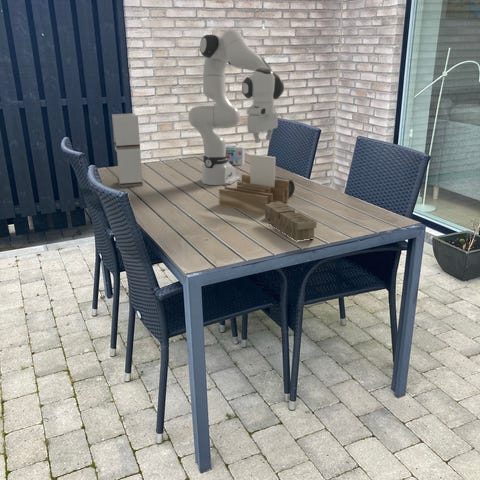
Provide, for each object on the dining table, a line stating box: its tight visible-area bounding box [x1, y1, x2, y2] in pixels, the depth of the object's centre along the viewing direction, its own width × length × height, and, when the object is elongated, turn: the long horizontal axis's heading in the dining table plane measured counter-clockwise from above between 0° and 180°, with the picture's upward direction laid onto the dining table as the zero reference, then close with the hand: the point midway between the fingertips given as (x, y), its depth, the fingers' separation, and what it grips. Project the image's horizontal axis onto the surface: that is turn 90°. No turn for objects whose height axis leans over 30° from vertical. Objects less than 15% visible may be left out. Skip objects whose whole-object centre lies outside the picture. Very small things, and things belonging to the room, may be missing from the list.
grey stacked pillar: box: [111, 113, 144, 188], centre depth 263 cm, size 11×11×35 cm
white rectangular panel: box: [249, 153, 277, 187], centre depth 233 cm, size 2×12×20 cm, turn 57°
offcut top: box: [236, 183, 271, 194], centre depth 229 cm, size 6×14×2 cm, turn 55°
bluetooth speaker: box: [275, 175, 296, 198], centre depth 247 cm, size 23×9×10 cm, turn 47°
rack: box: [218, 173, 290, 215], centre depth 229 cm, size 20×24×12 cm
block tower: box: [264, 201, 317, 241], centre depth 201 cm, size 8×8×29 cm
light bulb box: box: [226, 144, 245, 166], centre depth 313 cm, size 11×7×11 cm, turn 80°
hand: (263, 141), depth 227 cm, fingers open, 8 cm apart
